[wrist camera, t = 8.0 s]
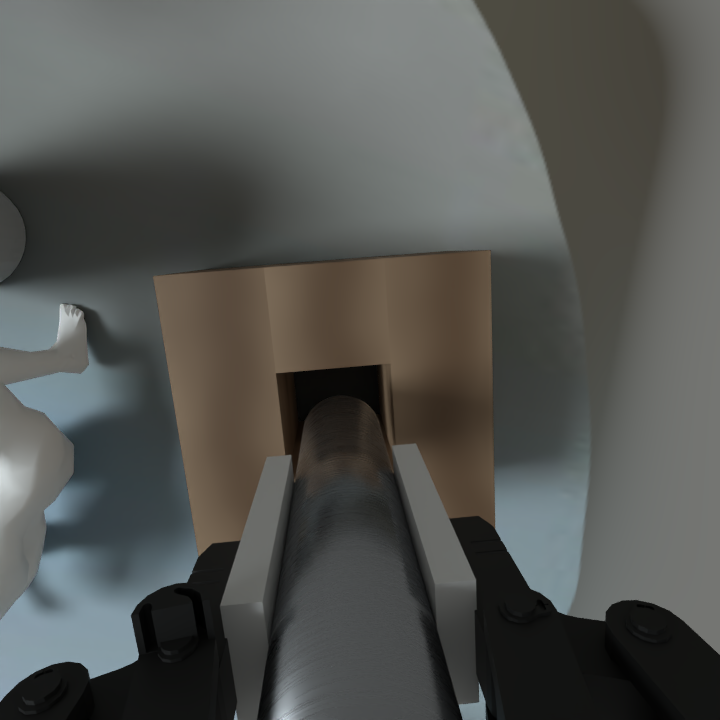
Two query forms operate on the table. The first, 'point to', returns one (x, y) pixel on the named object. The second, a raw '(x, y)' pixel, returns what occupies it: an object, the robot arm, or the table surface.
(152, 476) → the table surface
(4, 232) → the coffee cup
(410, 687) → the long pin
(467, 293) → the pin block
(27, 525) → the person figurine
